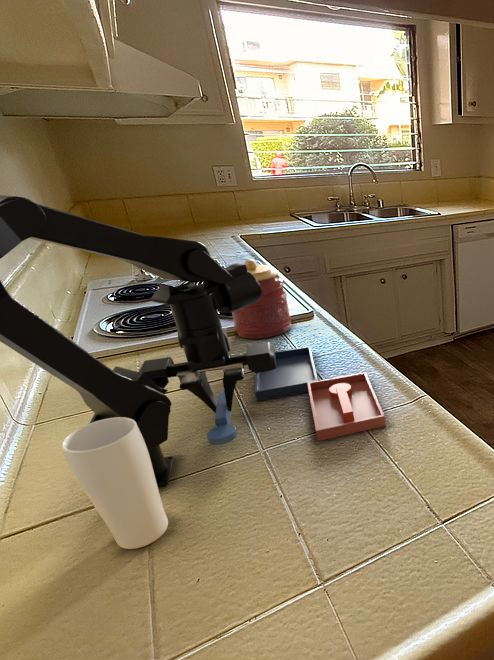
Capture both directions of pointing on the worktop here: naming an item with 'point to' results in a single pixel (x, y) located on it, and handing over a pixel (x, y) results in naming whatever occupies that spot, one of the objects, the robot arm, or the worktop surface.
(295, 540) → the worktop surface
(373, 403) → the rose tray
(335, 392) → the terracotta spoon
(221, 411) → the blue spoon
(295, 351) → the navy tray
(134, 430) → the drinking glass
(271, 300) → the kitchen canister
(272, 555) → the worktop surface
